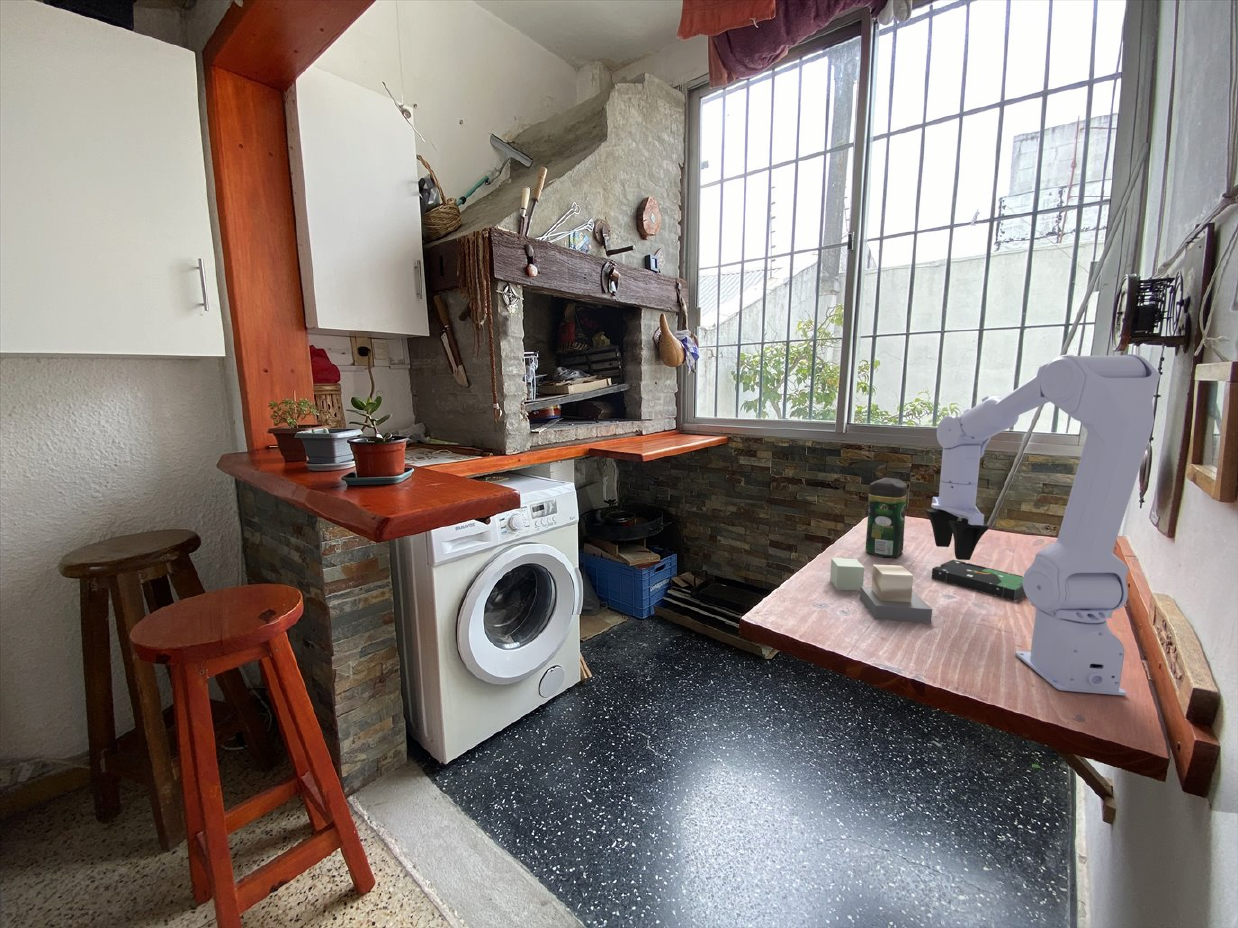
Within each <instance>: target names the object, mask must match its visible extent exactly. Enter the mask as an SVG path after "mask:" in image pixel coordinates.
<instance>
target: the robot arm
mask: <svg viewBox="0 0 1238 928" xmlns="http://www.w3.org/2000/svg"><path fill="white" fill-rule="evenodd" d="M1160 377H1161V373H1160V372H1159V371H1158V370H1157V369H1156V368H1155V367H1154V366H1153V365H1152V364H1151V363H1150V362H1149V360H1147V359H1146V358H1145V357H1143V356H1142V355H1139V354H1134V353H1133V354H1121V355H1073V354H1063V355H1062V354H1061V355H1059V356H1056V357H1054V358H1053V359H1051V360H1050V361H1049V362H1047V363H1045V364H1042V365H1040V366H1039V367H1038V370H1037V373H1036V375H1034V376H1033V377H1031V378H1030V379H1029V380H1027V381H1025V382H1024V383H1023V384H1022V385H1020V386H1018V387H1017V388H1016V389H1014V390H1013V391H1011V392H1009V394H1007V395H1005V396H1004V397H1003V396H999V395H997V396H992V395H990V396H985V397H983V398H982V399H981V402H980V403H978V404H977V405H975V406H973V407H972V408H970V409H965V410H963V413H962V414H960V415H959V416H953V415H946V416H944V417H943V418H942V419H941V420H940V421H939V423H938V425H937V427H936V438H937V442H938V444H939V445H940V446H941V447H942V455H941V467H940V478H939V479H940V481H939V490H938V491H939V493H938V496H933V497H932V501H931V504H930V505H931V508H933V509H928V508H927V509H925V513H926V515H927V517H928V518H929V521H930V523H931V524H930V525H931V527H932V528H931V529H932V533H933V537H934V538H933V539H934V544H935V545H936V547H938V548H940V547H941V548H949V547H950V545H951V543H952V539H953V541H954V543H953V546H954V547H953V548H954V549H953V550H954V556H955V559H956V560H957V561H971V559H972V556H973V553H974V551H975V549H976V547H977V544H978V543H979V541H980V540H981V538H982V537H983V535H984V534H985V533H986V532H987V531H988V530H989V525H988V524H986V523H984V522H985V514H983V513H982V512H981V511H980V510H979V508H978V507H977V506H976V504H977V495H978V494H977V493H978V481H979V475H980V472H979V471H980V463H981V458H983V456H985V451H986V447H987V445H988V444H989V443H990V441H991V438H992V437H994V436H996V435H998V434H1000V433H1002V432H1004V431H1006V430H1008V429H1010V428H1012V427H1014V426H1015V425H1016V424H1017V423H1018V420H1019V418H1020V417H1019V416H1020V415H1022V414H1025V413H1028V412H1029V411H1033V410H1034V409H1037V408H1040V407H1041V406H1043V405H1045V404H1047V403H1051V404H1053V405H1054V406H1056V407H1057V408H1059V409H1060V410H1061V411H1062V412H1064V413H1065V414H1067V415H1068V416H1069V417H1070V418H1072V419H1074V420H1076V421H1078V422H1080V424H1081V425H1082V426H1083V427H1084V428H1085V429H1086V431H1087V432H1086V433H1087V434H1086V437H1085V440H1084V445H1083V448H1082V451H1081V455H1080V458H1079V462H1078V465H1077V469H1076V473H1075V476H1074V479H1073V483H1072V486H1071V489H1070V494H1069V496H1068V499H1067V500H1068V501H1067V504H1066V508H1065V511H1064V514H1063V518H1062V522H1061V524H1060V525H1061V526H1060V529H1059V532H1058V535H1057V539H1056V540H1055V541H1054V542H1052V543H1051V544H1049V545H1047V546H1046V547H1044V548H1042V549H1041V550H1039V551H1038V552H1036V553H1035V557H1034V560H1033V562H1032V563H1031V565H1030V566H1029V567H1028V568H1027V569H1026V570H1025V572H1024V574H1023V588H1024V592H1025V596H1026V598H1027V599H1028V600H1029V602H1030V605H1031V607H1034V608H1035V612H1034V620H1033V621H1034V623H1033V629H1032V637H1031V645H1030V651H1020V650H1016V651H1015V653H1014V655H1016V657H1017V658H1019V659H1020V660H1021V661H1023V663H1025V665H1027V666H1029V667H1030V668H1031V669H1032V670H1034V671H1035V672H1036V673H1037V674H1038V675H1039V676H1041V677H1042V678H1043V679H1044V680H1046V682H1048V683H1049V684H1050V685H1051V686H1053V687H1054V688H1055V689H1056V690H1059V691H1062V692H1063V691H1065V692H1073V693H1074V692H1075V693H1086V694H1087V693H1089V694H1100V695H1101V694H1102V695H1113V696H1127V691H1126V690H1125V689H1123V688H1121V687H1120V686H1121V680H1122V672H1123V665H1124V659H1125V647H1124V645H1123V643H1122V641H1121V639H1120V638H1118V637H1117V636H1116V635H1115V634H1114V633H1113V632H1112V631H1111V630H1110V629H1109V626H1108V622H1107V619H1113V618H1112V617H1113V614H1114V613H1113V612H1114V611H1117V610H1120V609H1121V608H1122V607H1123V606H1125V604H1126V603H1127V600H1128V597H1129V591H1128V590H1129V589H1128V585H1127V576H1128V573H1129V569H1130V568H1129V566H1128V565H1127V564H1126V563H1125V562H1124V561H1123V560H1122V559H1121V558H1120V557H1118V556H1117V555H1116V554H1115V553H1113V552H1114V548H1115V545H1116V542H1117V539H1118V536H1119V533H1120V530H1121V527H1122V524H1123V520H1124V517H1125V515H1126V511H1127V508H1128V506H1129V502H1130V499H1131V496H1132V493H1133V489H1134V487H1135V484H1136V480H1137V478H1138V474H1139V471H1140V468H1141V465H1142V462H1143V459H1144V455H1145V453H1146V451H1147V450H1146V449H1147V446H1148V444H1149V442H1150V441H1149V440H1150V437H1151V435H1152V431H1153V427H1154V423H1155V417H1154V406H1153V405H1154V404H1153V399H1154V397H1155V393H1156V389H1157V387H1158V384H1159V380H1160ZM959 519H961V520H959Z"/></svg>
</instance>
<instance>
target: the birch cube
mask: <svg viewBox="0 0 1238 928" xmlns="http://www.w3.org/2000/svg"><path fill="white" fill-rule="evenodd" d="M871 576H872V577H871V587H872V588H871V590H872V591H873V592H874V593H875V595H876V596H877V597H878V598H879V599H880V600H881V601H894V602H911V599H912V590H913V585H914V584H913V583H914V582H913V581H914V575H913V574H912V573H911V572H910V571H909V570H907V569H906V568H905V567H904V566H902V565H891V564H890V565H889V564H872V574H871Z"/></svg>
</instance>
